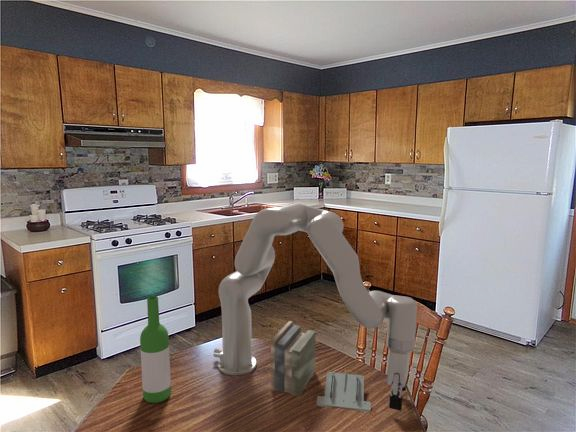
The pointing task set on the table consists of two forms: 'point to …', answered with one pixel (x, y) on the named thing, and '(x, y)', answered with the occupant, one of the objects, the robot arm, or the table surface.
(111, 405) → the table surface
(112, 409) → the table surface
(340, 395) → the metal bracket
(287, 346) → the book row
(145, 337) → the wine bottle
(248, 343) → the robot arm
